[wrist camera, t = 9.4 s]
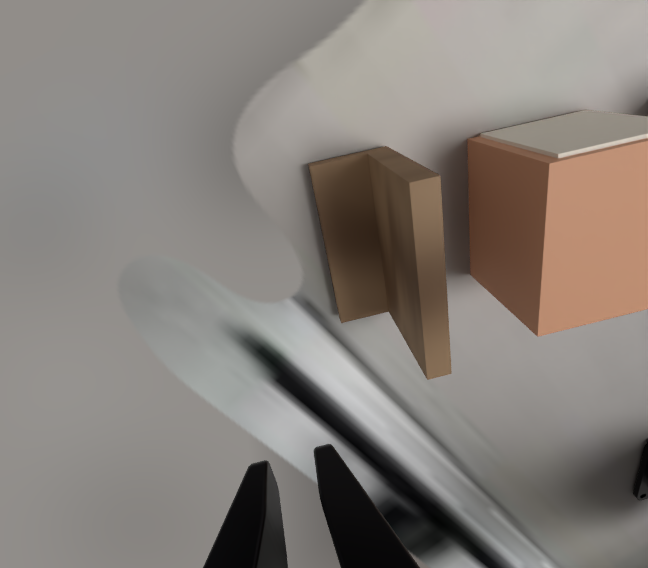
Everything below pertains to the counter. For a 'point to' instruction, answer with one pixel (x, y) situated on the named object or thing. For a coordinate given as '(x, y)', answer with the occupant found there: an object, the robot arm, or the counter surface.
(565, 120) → the rust book
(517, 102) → the counter surface
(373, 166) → the bracket
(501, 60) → the counter surface
